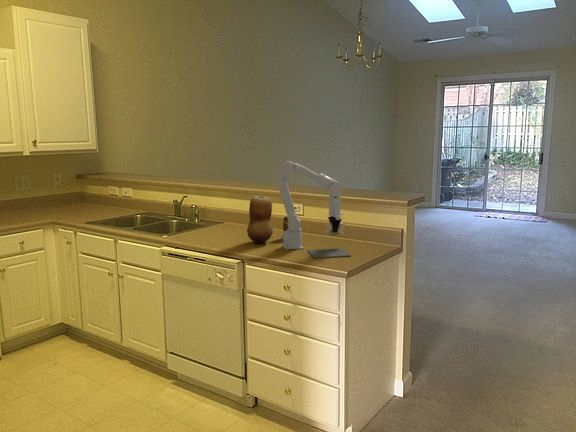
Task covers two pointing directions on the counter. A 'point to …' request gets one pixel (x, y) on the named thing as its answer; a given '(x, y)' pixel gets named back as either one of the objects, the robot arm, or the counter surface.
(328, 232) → the tile
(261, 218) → the butternut squash
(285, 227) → the condiment
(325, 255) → the mat
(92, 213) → the counter surface
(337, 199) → the robot arm
